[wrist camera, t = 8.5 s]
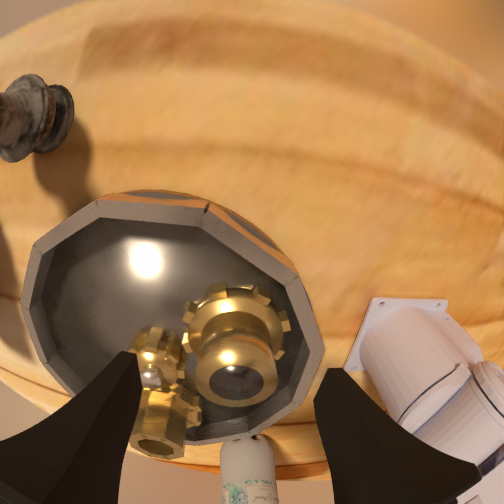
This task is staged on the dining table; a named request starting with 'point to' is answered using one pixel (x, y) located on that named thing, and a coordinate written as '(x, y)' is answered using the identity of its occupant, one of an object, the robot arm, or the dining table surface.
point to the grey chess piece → (33, 117)
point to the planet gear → (165, 421)
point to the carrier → (175, 307)
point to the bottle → (248, 471)
